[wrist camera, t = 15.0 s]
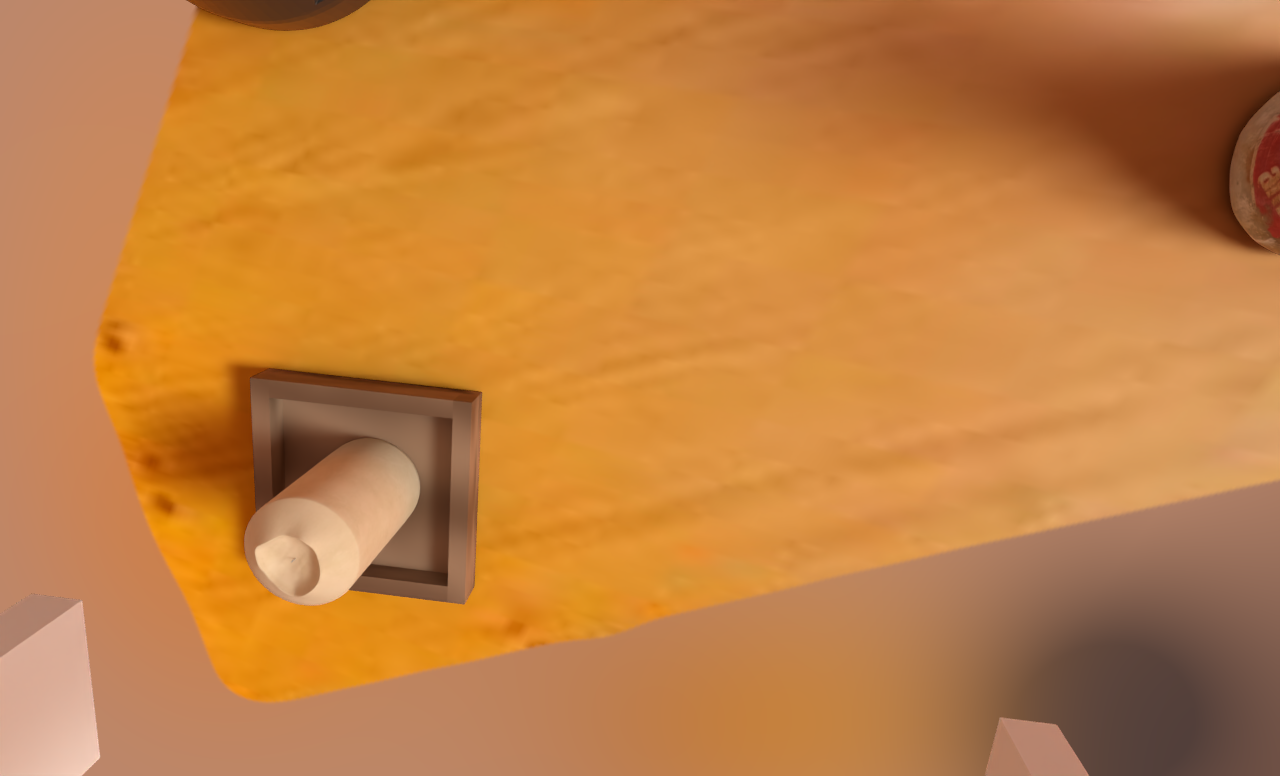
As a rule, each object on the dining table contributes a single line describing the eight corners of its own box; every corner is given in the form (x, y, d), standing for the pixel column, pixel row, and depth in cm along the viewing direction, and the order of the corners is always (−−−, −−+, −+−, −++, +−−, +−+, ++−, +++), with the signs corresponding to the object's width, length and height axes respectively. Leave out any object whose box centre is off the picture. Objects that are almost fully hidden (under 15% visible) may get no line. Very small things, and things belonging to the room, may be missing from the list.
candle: (307, 485, 45) (202, 571, 36) (362, 416, 44) (268, 486, 34) (385, 545, 46) (302, 644, 36) (441, 479, 45) (370, 564, 35)
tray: (269, 368, 44) (250, 377, 42) (481, 392, 44) (471, 402, 42) (276, 561, 48) (258, 578, 46) (474, 586, 47) (464, 604, 45)
